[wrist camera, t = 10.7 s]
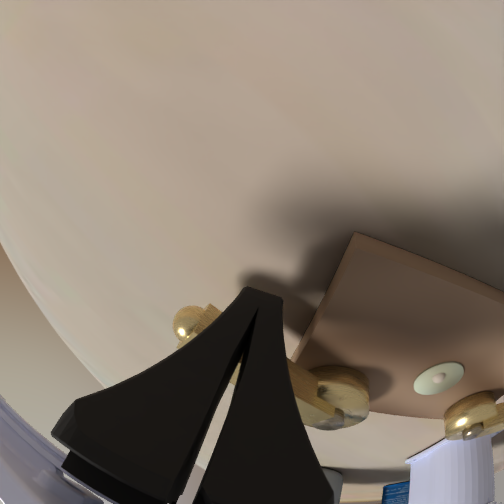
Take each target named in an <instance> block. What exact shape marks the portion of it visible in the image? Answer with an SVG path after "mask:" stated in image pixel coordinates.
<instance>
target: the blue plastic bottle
mask: <svg viewBox="0 0 504 504" xmlns="http://www.w3.org/2000/svg"><path fill="white" fill-rule="evenodd" d="M409 490H410V481H409V482H404V483H399V484H393V485H388V486H384V487H383V496H382V504H408V502H409Z"/></svg>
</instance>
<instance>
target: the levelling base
mask: <svg viewBox="0 0 504 504" xmlns="http://www.w3.org/2000/svg"><path fill="white" fill-rule="evenodd" d="M290 360H291V361H293V362H294V363H296V364H297V365H299V366H300V367H302V368H304V369H305V370H309V369H312V368H316V367H321V366H344V367H349V368H352V369H355V370H358V371H360V372H361V373H363V374H364V375H365V376H366V377H367V378H368V380H369V411H371V412H377V413H384V414H391V415H399V416H408V417H418V418H430V419H444V414H445V412H446V411H447V410H448V409H449V408H450V407H451V406H452V405H454V404H455V403H457V402H459V401H460V400H462V399H464V398H466V397H469V396H471V395H474V394H477V393H481V392H492V393H493V394H494V397H495V401H497V400H498V399H499V398H500V397H501V396H503V395H504V292H502V291H500V290H498V289H496V288H494V287H491V286H489V285H487V284H485V283H483V282H480V281H478V280H476V279H474V278H471V277H469V276H467V275H464V274H462V273H460V272H457V271H455V270H453V269H450V268H448V267H446V266H443V265H441V264H438V263H436V262H433V261H431V260H429V259H426V258H424V257H421V256H418V255H416V254H413V253H411V252H408V251H406V250H403V249H400V248H398V247H395V246H393V245H390V244H387V243H385V242H382V241H379V240H376V239H374V238H371V237H368V236H365V235H363V234H360V233H357V232H354V233H353V236H352V238H351V240H350V242H349V245H348V247H347V249H346V251H345V254H344V256H343V258H342V260H341V262H340V264H339V267H338V269H337V271H336V273H335V275H334V277H333V279H332V281H331V283H330V285H329V287H328V290H327V292H326V294H325V296H324V298H323V300H322V302H321V304H320V305H319V307H318V309H317V311H316V313H315V315H314V317H313V319H312V321H311V323H310V325H309V327H308V328H307V330H306V332H305V334H304V336H303V338H302V340H301V341H300V343H299V345H298V347H297V349H296V350H295V352H294V354H293V356H292V357H291V359H290Z"/></svg>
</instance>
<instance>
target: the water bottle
mask: <svg viewBox="0 0 504 504" xmlns="http://www.w3.org/2000/svg"><path fill="white" fill-rule="evenodd" d="M322 470H323V472H324V474H325V476H326V478H327V479H328V481H329V483H330V485H331V487H332V489H333V491H334V504H339V502H340V497H341V491H342V485H343V476H342V475H341V474H340V473H338V472H336V471H334V470H331V469H326V468H322Z"/></svg>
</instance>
